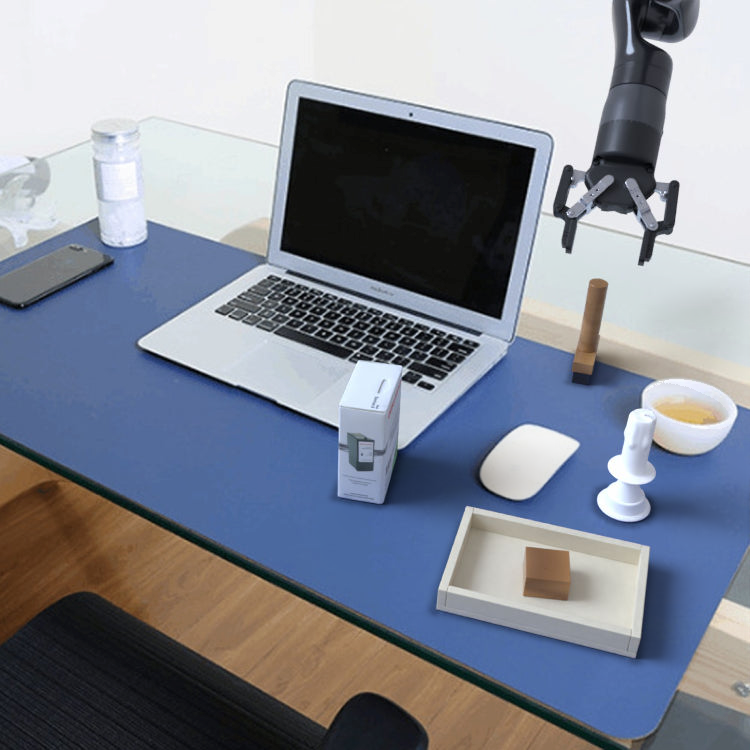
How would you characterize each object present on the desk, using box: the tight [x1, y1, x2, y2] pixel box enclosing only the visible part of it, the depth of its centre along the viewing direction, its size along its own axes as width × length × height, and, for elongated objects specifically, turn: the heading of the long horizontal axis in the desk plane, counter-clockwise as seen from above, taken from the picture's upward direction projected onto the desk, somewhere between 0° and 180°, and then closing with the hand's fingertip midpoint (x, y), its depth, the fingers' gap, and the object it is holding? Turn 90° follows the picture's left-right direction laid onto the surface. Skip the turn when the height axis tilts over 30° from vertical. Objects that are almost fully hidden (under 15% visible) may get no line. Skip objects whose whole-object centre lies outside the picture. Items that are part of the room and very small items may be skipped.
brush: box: [571, 278, 609, 386], centre depth 120 cm, size 2×7×12 cm, turn 163°
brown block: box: [523, 547, 571, 601], centre depth 91 cm, size 4×4×2 cm
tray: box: [435, 505, 651, 659], centre depth 92 cm, size 18×12×3 cm, turn 73°
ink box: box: [337, 359, 403, 505], centre depth 101 cm, size 9×5×12 cm, turn 168°
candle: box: [596, 408, 657, 523], centre depth 99 cm, size 5×5×12 cm
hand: (604, 257), depth 118 cm, fingers open, 8 cm apart
